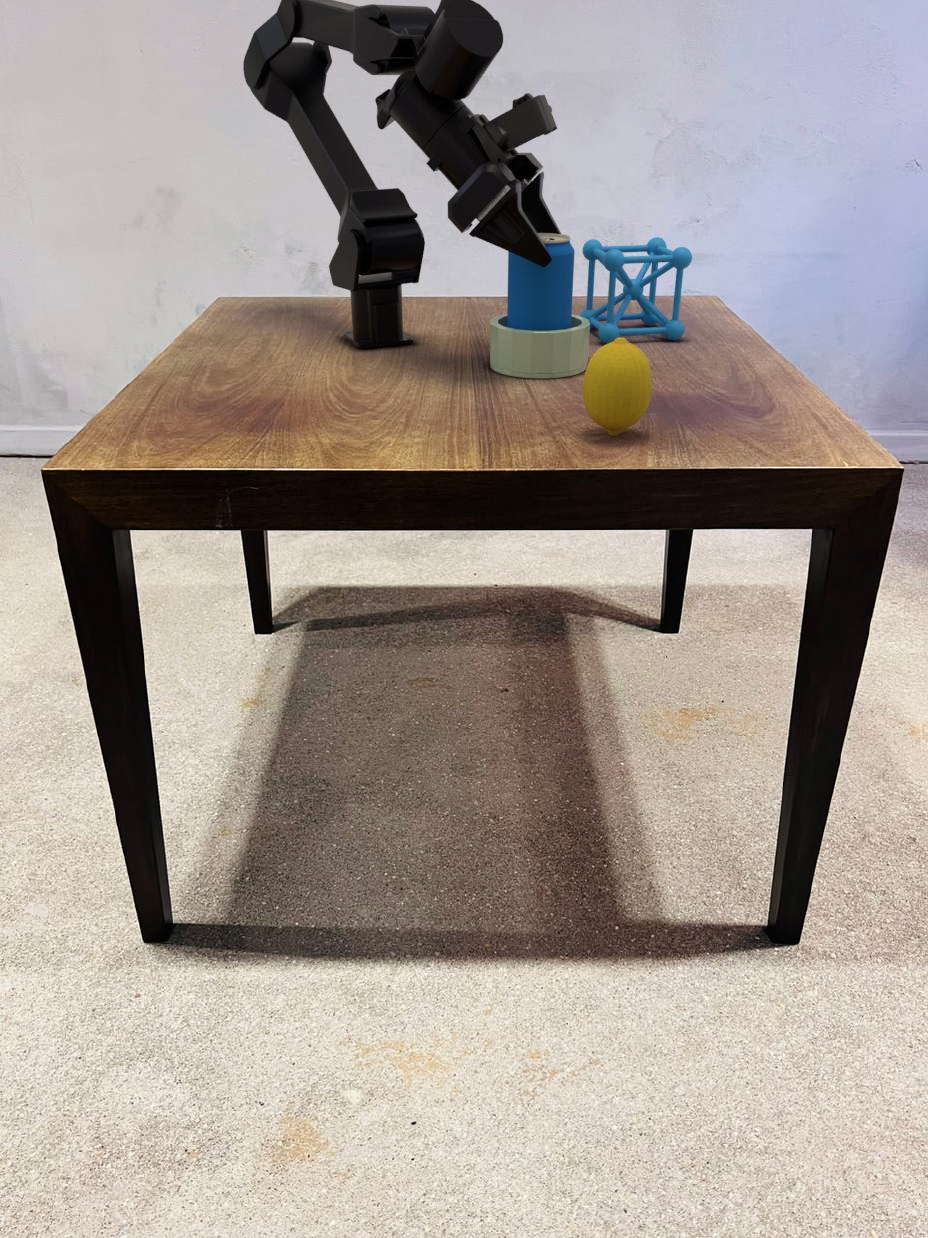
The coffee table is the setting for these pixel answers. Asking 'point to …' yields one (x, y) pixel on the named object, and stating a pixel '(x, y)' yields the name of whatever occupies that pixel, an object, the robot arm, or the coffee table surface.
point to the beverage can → (542, 288)
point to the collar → (539, 349)
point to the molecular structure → (635, 288)
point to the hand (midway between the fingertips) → (556, 256)
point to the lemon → (617, 386)
